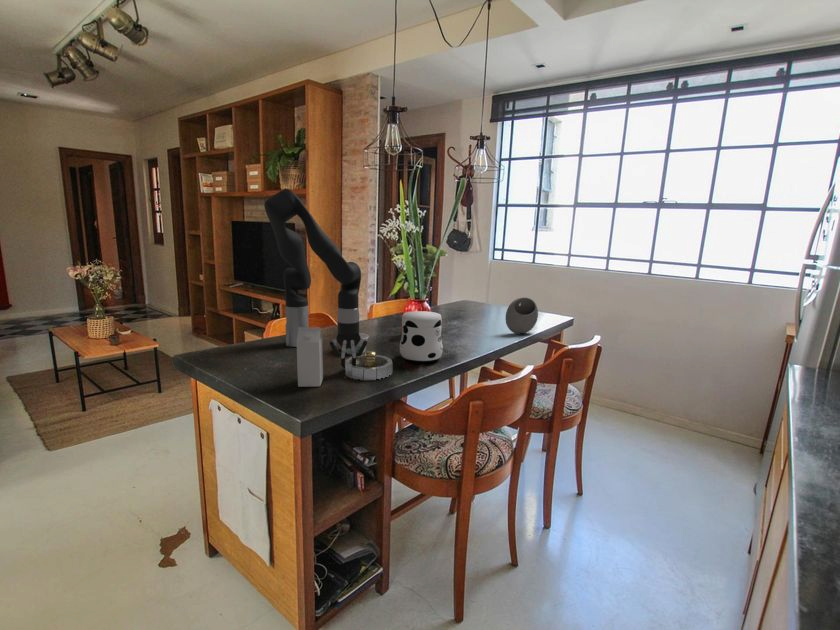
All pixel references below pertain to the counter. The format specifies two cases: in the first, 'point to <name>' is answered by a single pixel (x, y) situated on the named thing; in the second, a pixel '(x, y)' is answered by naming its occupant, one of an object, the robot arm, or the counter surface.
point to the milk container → (421, 336)
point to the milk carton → (309, 356)
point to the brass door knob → (369, 359)
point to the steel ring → (372, 373)
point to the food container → (363, 336)
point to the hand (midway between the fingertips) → (348, 367)
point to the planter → (521, 315)
